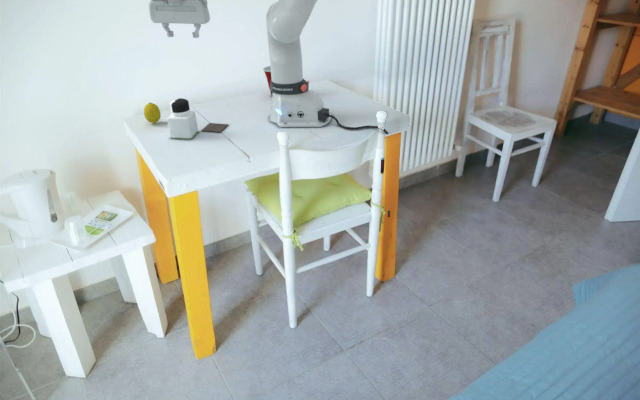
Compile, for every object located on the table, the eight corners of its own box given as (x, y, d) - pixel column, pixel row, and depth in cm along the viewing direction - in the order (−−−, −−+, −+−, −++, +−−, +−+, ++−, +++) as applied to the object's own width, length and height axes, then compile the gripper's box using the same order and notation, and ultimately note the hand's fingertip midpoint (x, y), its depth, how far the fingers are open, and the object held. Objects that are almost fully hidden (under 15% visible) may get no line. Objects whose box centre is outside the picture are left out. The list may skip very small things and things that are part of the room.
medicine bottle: (198, 130, 161) (192, 96, 154) (191, 138, 155) (185, 104, 148) (178, 129, 161) (172, 96, 155) (170, 138, 155) (163, 103, 149)
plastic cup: (279, 89, 199) (277, 61, 193) (296, 95, 193) (294, 66, 186) (259, 96, 192) (256, 67, 186) (276, 101, 186) (274, 71, 180)
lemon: (165, 123, 168) (160, 102, 164) (151, 127, 165) (146, 106, 161) (157, 119, 171) (153, 98, 167) (143, 124, 168) (138, 102, 164)
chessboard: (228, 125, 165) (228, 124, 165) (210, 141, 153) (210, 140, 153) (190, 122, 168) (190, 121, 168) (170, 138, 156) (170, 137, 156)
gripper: (209, -9, 150) (215, 36, 157) (153, -9, 155) (161, 34, 162) (201, -6, 145) (207, 40, 152) (143, -7, 149) (151, 38, 156)
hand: (183, 37), depth 157 cm, fingers open, 8 cm apart
